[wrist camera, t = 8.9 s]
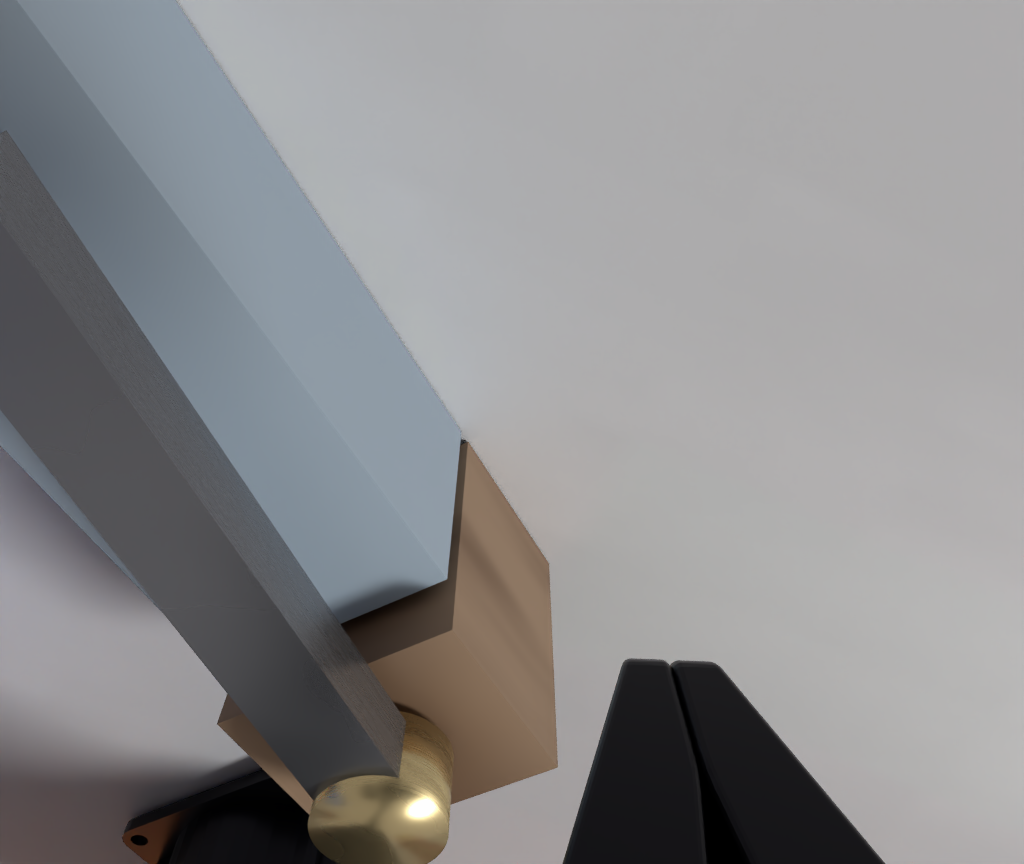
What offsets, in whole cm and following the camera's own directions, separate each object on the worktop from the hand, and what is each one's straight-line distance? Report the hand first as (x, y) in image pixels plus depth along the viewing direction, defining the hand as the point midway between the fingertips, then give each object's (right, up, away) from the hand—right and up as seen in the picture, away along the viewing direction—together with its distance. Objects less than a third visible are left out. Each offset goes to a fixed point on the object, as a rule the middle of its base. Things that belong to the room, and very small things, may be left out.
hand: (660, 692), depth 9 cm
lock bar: (-6, +1, +6) cm, 8 cm away
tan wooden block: (-4, 0, +14) cm, 15 cm away
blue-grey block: (-8, +6, +10) cm, 14 cm away
